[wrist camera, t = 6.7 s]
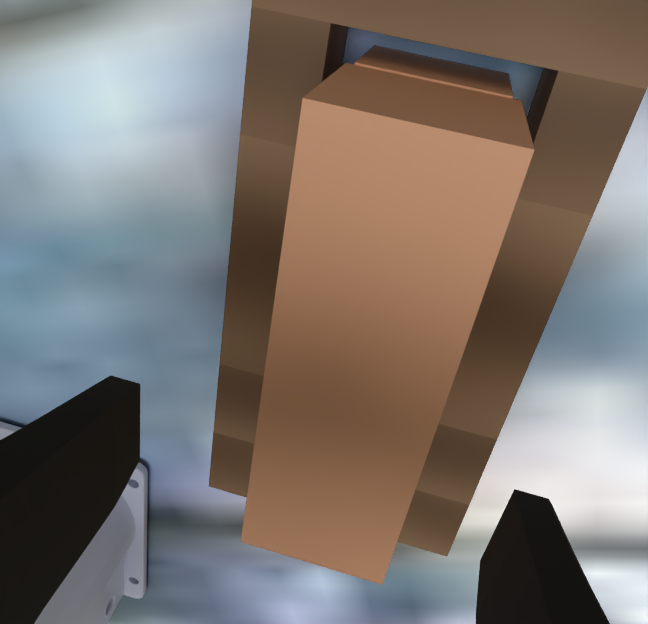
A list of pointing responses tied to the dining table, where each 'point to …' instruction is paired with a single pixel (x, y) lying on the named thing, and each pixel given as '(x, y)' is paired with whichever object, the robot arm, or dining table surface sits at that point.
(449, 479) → the brown flat slab
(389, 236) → the tan stepped block
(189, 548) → the dining table surface
